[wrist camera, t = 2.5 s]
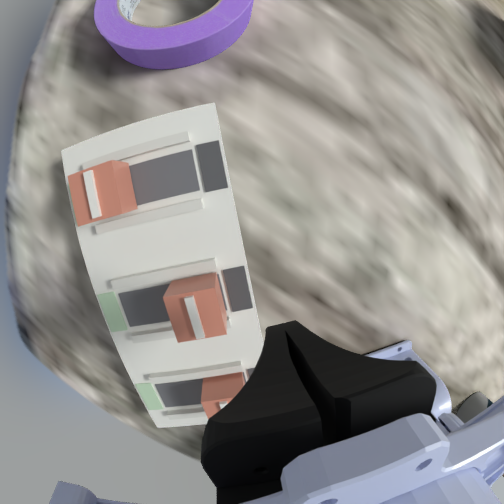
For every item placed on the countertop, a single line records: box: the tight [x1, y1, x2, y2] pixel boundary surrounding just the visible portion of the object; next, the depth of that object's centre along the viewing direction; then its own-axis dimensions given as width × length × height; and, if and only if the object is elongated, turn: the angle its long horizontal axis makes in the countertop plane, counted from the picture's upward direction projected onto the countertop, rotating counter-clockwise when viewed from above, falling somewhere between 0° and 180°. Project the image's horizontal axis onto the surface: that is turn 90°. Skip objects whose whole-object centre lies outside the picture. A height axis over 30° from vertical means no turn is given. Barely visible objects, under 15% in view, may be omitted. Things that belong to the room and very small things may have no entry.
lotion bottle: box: [456, 392, 504, 477], centre depth 20 cm, size 6×6×20 cm
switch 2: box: [201, 372, 245, 419], centre depth 19 cm, size 3×3×3 cm
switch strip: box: [61, 103, 264, 428], centre depth 20 cm, size 11×24×3 cm, turn 11°
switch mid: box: [163, 272, 227, 343], centre depth 17 cm, size 3×3×3 cm
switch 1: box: [68, 160, 138, 227], centre depth 15 cm, size 3×3×3 cm
